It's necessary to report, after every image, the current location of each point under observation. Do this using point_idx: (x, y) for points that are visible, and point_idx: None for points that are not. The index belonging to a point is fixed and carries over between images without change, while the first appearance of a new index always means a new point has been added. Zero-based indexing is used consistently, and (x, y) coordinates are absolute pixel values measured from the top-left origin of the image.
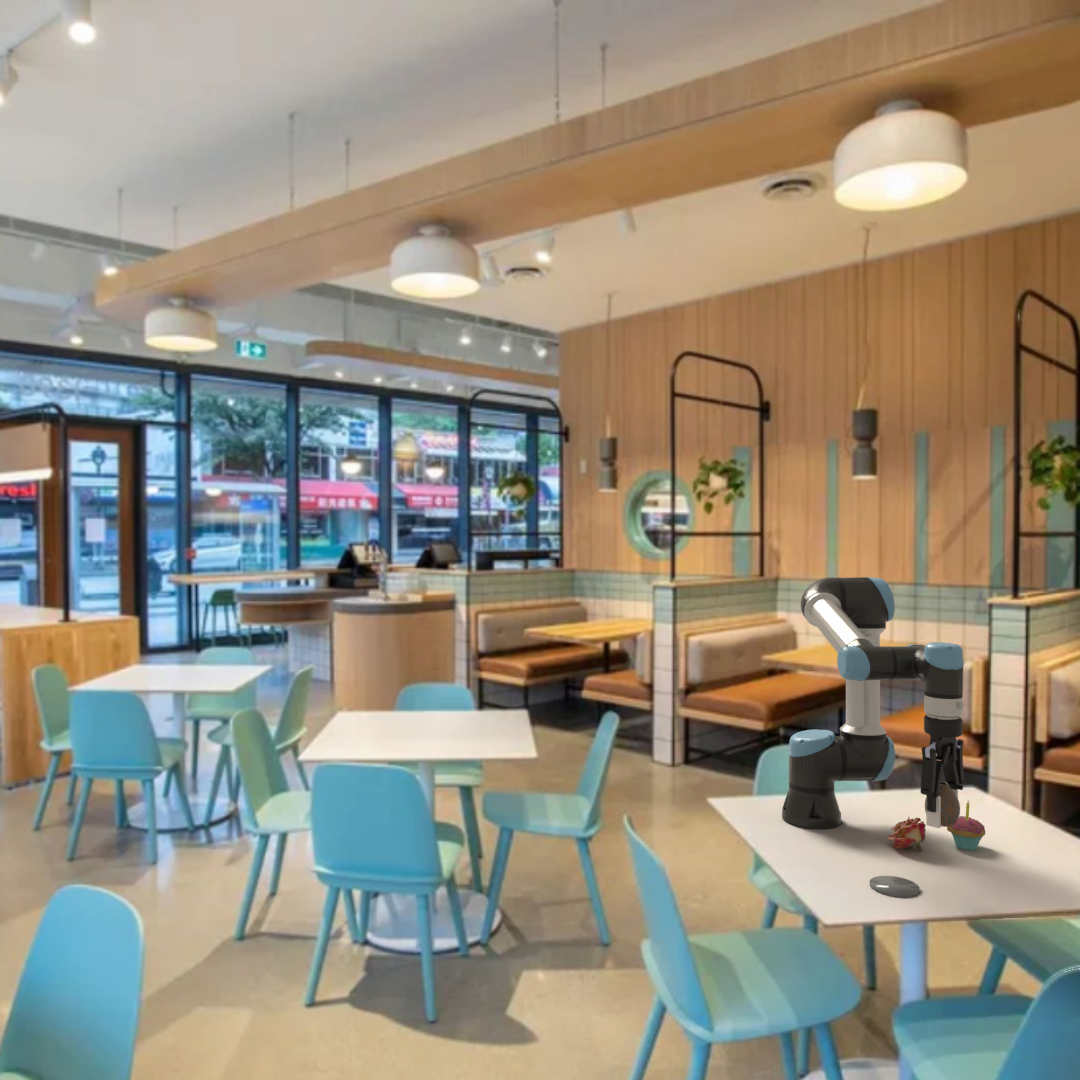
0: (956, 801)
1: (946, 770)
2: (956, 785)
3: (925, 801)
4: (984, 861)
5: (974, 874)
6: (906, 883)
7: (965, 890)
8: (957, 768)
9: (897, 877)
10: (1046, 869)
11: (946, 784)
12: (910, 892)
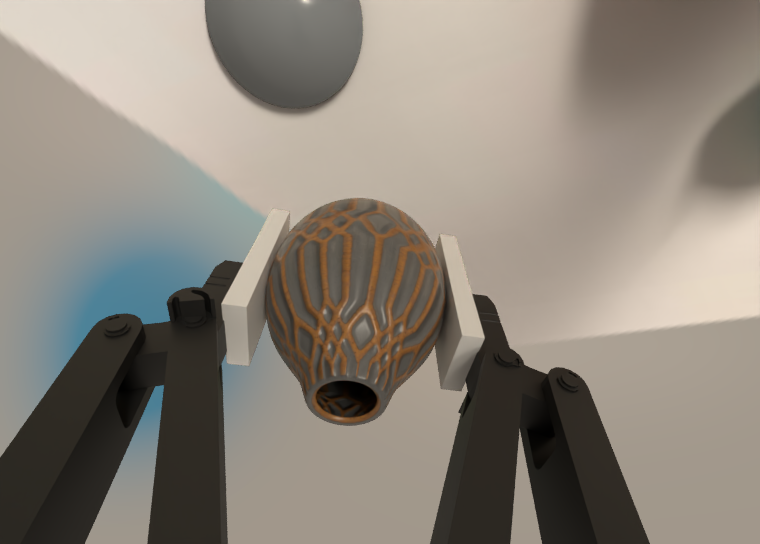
0: (342, 381)
1: (455, 476)
2: (461, 411)
3: (303, 240)
4: (671, 175)
5: (545, 182)
6: (325, 56)
7: (411, 195)
8: (547, 514)
9: (355, 8)
10: (661, 293)
11: (332, 421)
12: (266, 94)
